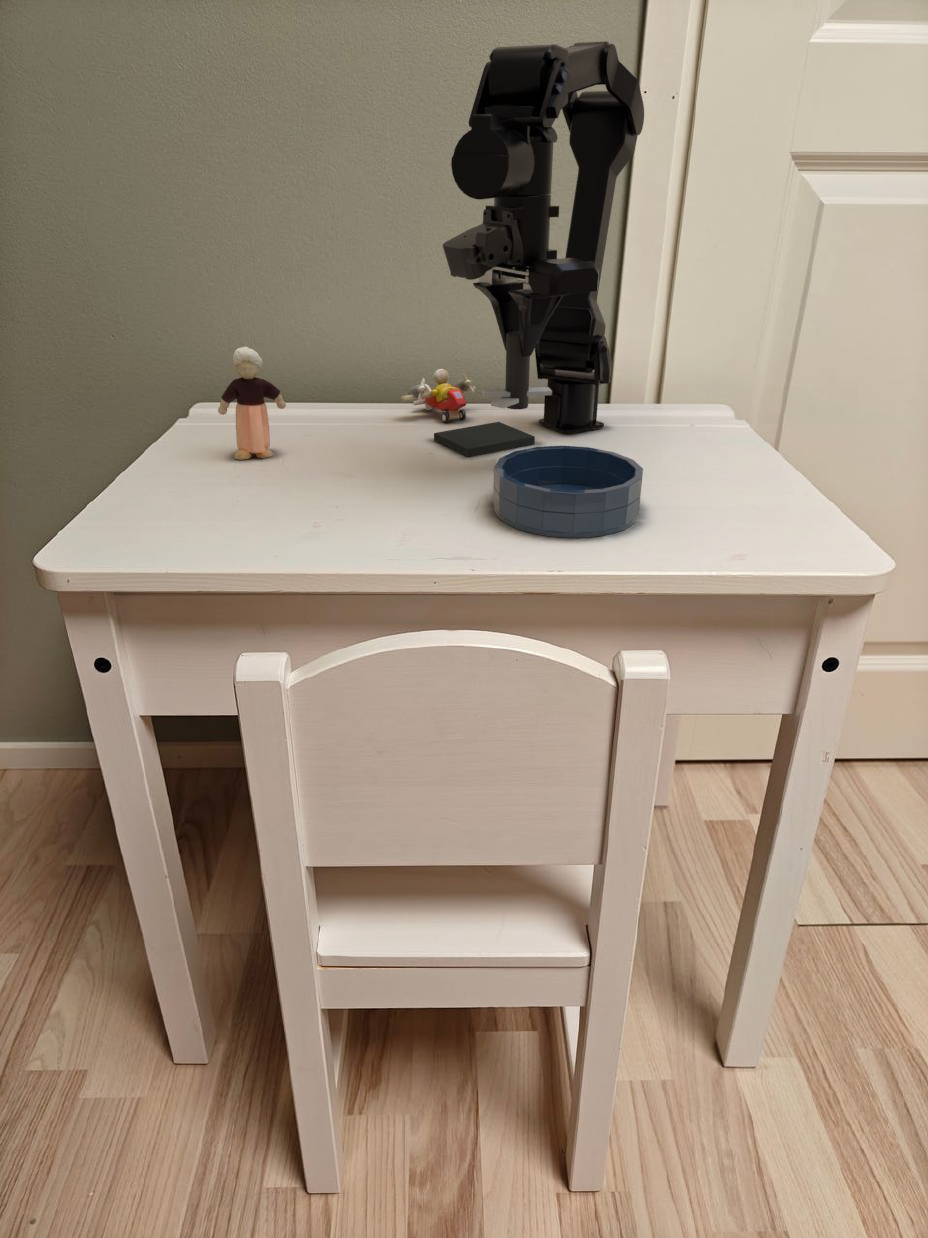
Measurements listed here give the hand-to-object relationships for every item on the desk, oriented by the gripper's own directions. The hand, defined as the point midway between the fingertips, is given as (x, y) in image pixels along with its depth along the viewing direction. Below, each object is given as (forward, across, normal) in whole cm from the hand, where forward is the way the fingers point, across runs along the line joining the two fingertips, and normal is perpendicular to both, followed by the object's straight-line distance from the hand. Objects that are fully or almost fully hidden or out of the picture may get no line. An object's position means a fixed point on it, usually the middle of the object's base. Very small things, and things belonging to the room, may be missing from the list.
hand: (518, 353), depth 94 cm
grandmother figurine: (+13, -20, -24) cm, 34 cm away
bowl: (+13, +14, -4) cm, 19 cm away
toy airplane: (+13, -24, +4) cm, 27 cm away
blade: (+6, 0, 0) cm, 6 cm away
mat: (+13, -10, +2) cm, 16 cm away
